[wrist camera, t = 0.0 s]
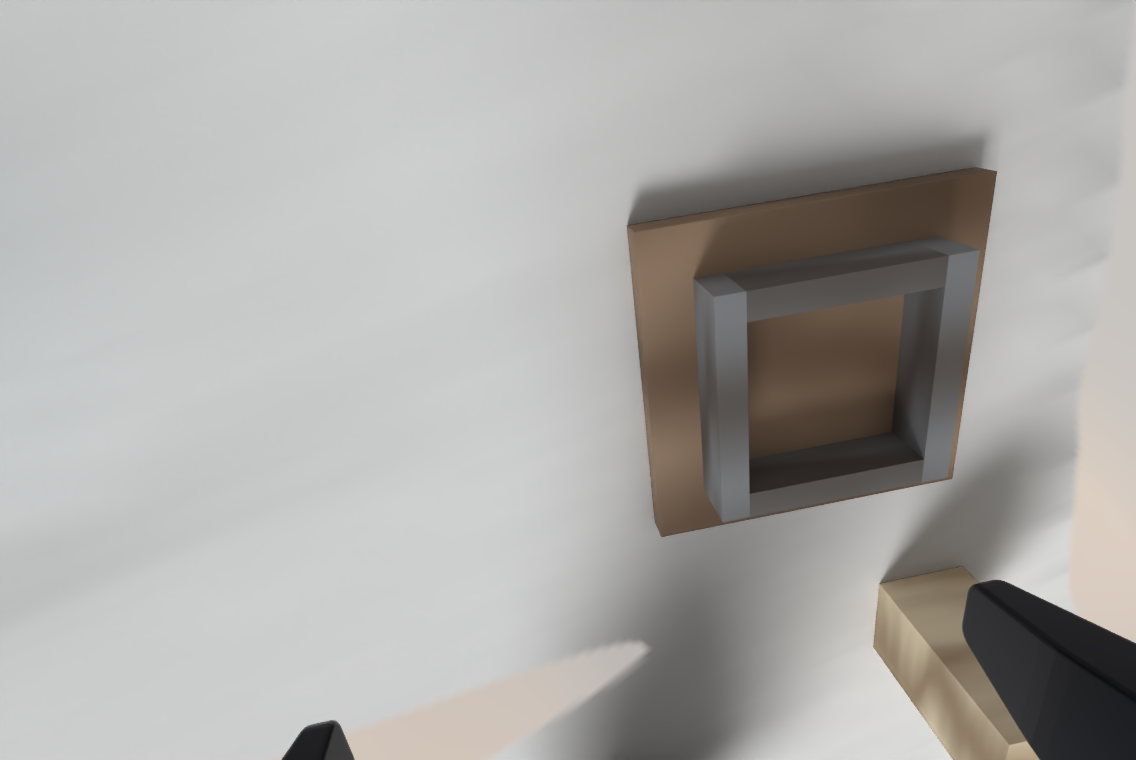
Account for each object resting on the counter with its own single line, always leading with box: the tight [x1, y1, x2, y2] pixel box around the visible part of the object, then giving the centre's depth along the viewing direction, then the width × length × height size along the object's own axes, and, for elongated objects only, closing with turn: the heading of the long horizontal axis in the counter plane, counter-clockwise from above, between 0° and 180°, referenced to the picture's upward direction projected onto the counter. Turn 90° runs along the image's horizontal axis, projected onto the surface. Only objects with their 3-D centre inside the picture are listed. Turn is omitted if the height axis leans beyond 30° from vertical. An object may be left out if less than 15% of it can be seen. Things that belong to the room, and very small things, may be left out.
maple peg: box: [873, 566, 1040, 760], centre depth 27 cm, size 4×4×8 cm
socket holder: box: [627, 167, 997, 537], centre depth 23 cm, size 12×12×3 cm
